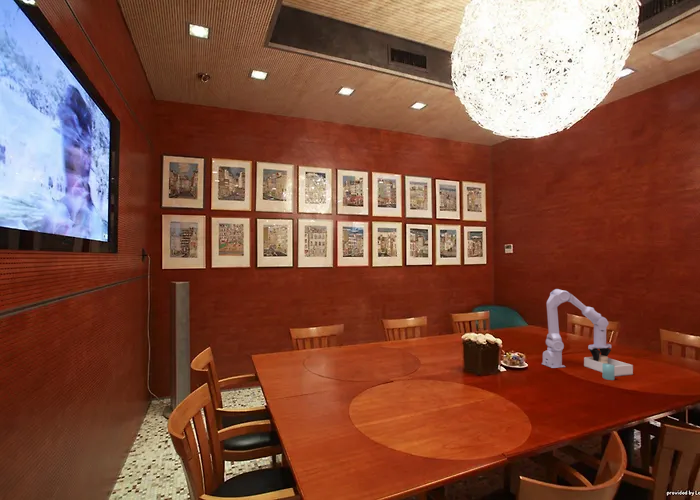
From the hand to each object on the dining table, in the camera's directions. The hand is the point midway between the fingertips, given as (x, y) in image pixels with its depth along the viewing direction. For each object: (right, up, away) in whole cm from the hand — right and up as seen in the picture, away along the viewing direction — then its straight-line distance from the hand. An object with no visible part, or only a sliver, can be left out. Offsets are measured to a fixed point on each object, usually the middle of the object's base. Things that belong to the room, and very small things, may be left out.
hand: (599, 361), depth 196 cm
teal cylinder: (-8, -3, -17) cm, 19 cm away
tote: (+1, -4, -4) cm, 6 cm away
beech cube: (0, -2, 0) cm, 2 cm away
